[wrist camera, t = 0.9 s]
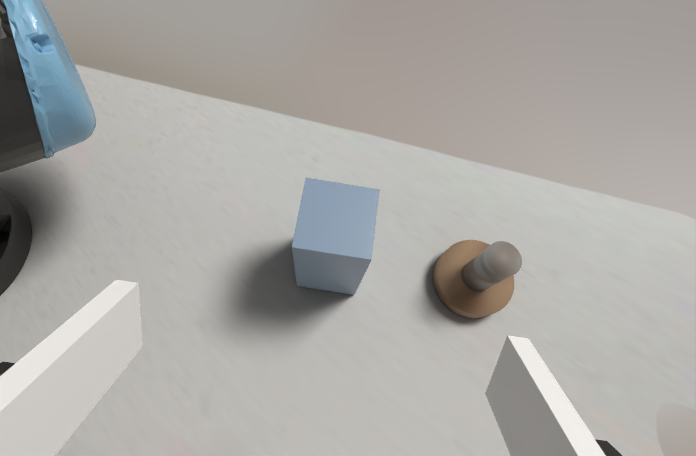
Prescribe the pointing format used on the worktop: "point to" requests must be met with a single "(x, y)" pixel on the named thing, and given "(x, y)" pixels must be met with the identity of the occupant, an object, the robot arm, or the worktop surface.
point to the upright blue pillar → (334, 235)
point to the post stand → (476, 277)
